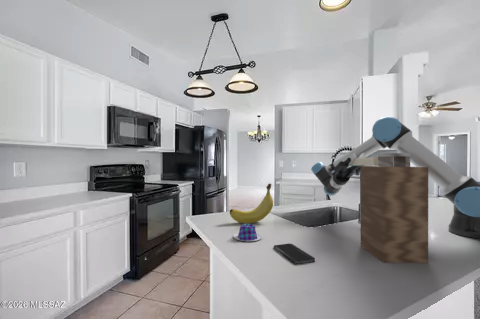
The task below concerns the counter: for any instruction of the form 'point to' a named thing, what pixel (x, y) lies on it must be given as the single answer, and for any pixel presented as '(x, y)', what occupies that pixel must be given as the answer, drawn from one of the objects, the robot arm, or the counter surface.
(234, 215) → the banana
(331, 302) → the counter surface
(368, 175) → the stand
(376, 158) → the cream teal square bar
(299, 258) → the phone
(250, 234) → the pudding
